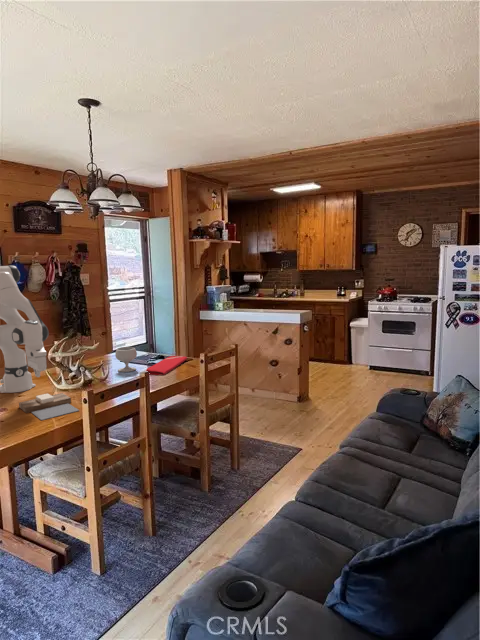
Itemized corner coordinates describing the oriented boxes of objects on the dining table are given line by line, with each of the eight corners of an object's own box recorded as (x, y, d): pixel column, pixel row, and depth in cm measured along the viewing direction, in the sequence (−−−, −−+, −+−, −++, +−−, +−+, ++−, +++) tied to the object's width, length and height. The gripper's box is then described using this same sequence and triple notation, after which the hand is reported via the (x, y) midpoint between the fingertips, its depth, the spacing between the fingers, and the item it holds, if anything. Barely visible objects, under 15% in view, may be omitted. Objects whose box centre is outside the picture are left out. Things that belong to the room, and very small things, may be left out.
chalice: (141, 369, 291) (140, 348, 289) (123, 374, 281) (122, 351, 279) (130, 366, 301) (129, 345, 299) (112, 370, 291) (110, 348, 289)
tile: (36, 399, 225) (35, 395, 224) (48, 397, 229) (47, 393, 228) (41, 403, 218) (41, 399, 218) (54, 400, 222) (53, 397, 222)
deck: (19, 407, 221) (18, 402, 220) (62, 397, 235) (62, 393, 235) (26, 413, 212) (25, 408, 212) (71, 402, 226) (70, 397, 226)
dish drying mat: (142, 374, 280) (141, 369, 279) (168, 360, 319) (168, 355, 319) (164, 376, 276) (164, 370, 275) (188, 361, 315) (188, 356, 315)
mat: (31, 412, 212) (31, 411, 212) (68, 403, 224) (67, 403, 224) (41, 420, 201) (41, 419, 201) (79, 410, 213) (79, 410, 213)
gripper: (22, 349, 232) (25, 374, 234) (34, 354, 217) (37, 381, 219) (35, 347, 236) (37, 372, 238) (47, 352, 221) (50, 378, 223)
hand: (37, 376), depth 228 cm, fingers closed
